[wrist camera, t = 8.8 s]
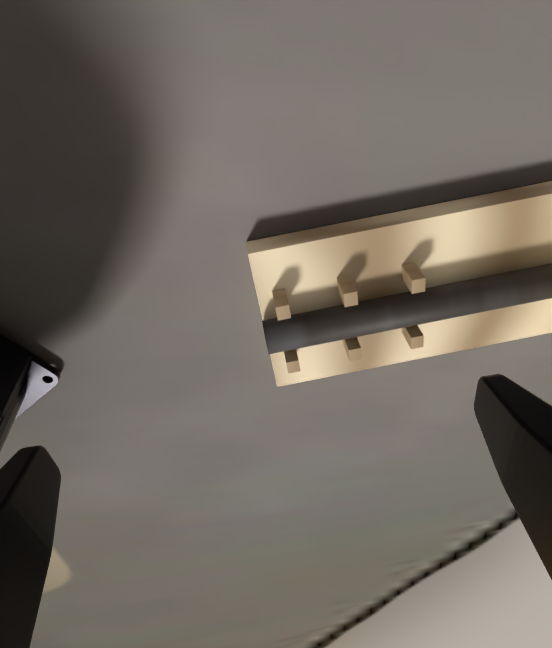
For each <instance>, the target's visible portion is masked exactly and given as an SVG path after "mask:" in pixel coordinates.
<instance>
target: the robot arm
mask: <svg viewBox="0 0 552 648" xmlns="http://www.w3.org/2000/svg"><path fill="white" fill-rule="evenodd" d="M46 376H50V377H52V378H48V377H46ZM59 378H60V373H59V371H58V370H57V369H55V368H54V367H52V366H51V365H49V364H47V363H46V362H44V361H42V360H41V359H39V358H38V357H36V356H34V355H33V354H31V353H30V352H28V351H26V350H25V349H23V348H22V347H20V346H18V345H17V344H15V343H14V342H12V341H10V340H9V339H7V338H5V337H4V336H2V335H1V334H0V451H1V449H2V447H3V444H4V442H5V440H6V438H7V435H8V433H9V431H10V429H11V427H12V424H13V422H14V420H15V419H16V418H17V417H18V416H19V415H20V414H22V413H23V412H24V411H25V410H26V409H28V408H29V407H30V406H31V405H32V404H34V403H35V402H36V401H37V400H38V399H40V398H41V397H42V396H43V395H44V394H46V393H47V392H48V391H49V390H50V389H52V388H53V387H54V386H55V385H56V384H57V383H58V381H59ZM474 411H475V415H476V418H477V420H478V423H479V426H480V428H481V431H482V433H483V436H484V439H485V441H486V444H487V446H488V449H489V452H490V454H491V457H492V459H493V462H494V465H495V467H496V470H497V472H498V475H499V477H500V480H501V482H502V484H503V486H504V488H505V490H506V493H507V495H508V496H509V498H510V500H511V502H512V504H513V506H514V508H515V510H516V512H517V514H518V516H519V518H520V520H521V522H522V523H523V525H524V527H525V529H526V531H527V533H528V535H529V537H530V539H531V541H532V543H533V545H534V546H535V549H536V550H537V552H538V554H539V556H540V558H541V560H542V562H543V564H544V566H545V567H546V570H547V572H548V573H549V576H550V577H551V579H552V406H551V405H550V404H548V403H547V402H545V401H543V400H542V399H540V398H539V397H537V396H535V395H534V394H532V393H531V392H529V391H527V390H526V389H524V388H523V387H521V386H520V385H518V384H516V383H515V382H513V381H512V380H510V379H508V378H507V377H505V376H503V375H501V374H495V375H488V376H483V377H481V378H480V379H479V380H478V384H477V390H476V396H475V401H474ZM60 483H61V474H60V470H59V468H58V466H57V465H56V463H55V462H54V460H53V459H52V457H51V456H50V454H49V453H48V452H47V450H46V449H45V448H44V447H43V446H33V447H26V448H22V449H20V450H19V451H18V452H17V453H16V454H15V455H14V456H13V457H12V458H11V459H10V460H9V461H8V462H7V463H6V464H5V465H4V466H3V467H2V468H1V469H0V648H29V647H30V643H31V639H32V634H33V630H34V626H35V622H36V617H37V613H38V609H39V605H40V600H41V596H42V592H43V587H44V583H45V579H46V575H47V570H48V566H49V562H50V557H51V552H52V546H53V539H54V531H55V523H56V515H57V507H58V499H59V491H60Z"/></svg>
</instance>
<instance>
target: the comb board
mask: <svg viewBox="0 0 552 648" xmlns="http://www.w3.org/2000/svg"><path fill="white" fill-rule="evenodd" d="M246 243H247V251H248V256H249V261H250V265H251V270H252V274H253V279H254V283H255V288H256V293H257V297H258V302H259V306H260V311H261V315H262V320H263V321H262V322H263V328H264V334H265V339H266V344H267V348H268V352H269V354H270V356H271V360H272V365H273V369H274V374H275V378H276V383H277V387H279V386H284V385H289V384H294V383H299V382H304V381H309V380H314V379H319V378H324V377H329V376H334V375H339V374H344V373H349V372H355V371H360V370H365V369H370V368H375V367H380V366H385V365H390V364H395V363H400V362H405V361H410V360H415V359H420V358H425V357H430V356H435V355H440V354H445V353H451V352H456V351H461V350H466V349H471V348H476V347H481V346H486V345H491V344H496V343H501V342H506V341H511V340H516V339H521V338H526V337H531V336H536V335H541V334H546V333H552V181H549V182H544V183H539V184H534V185H529V186H524V187H519V188H514V189H509V190H504V191H499V192H494V193H489V194H484V195H479V196H474V197H469V198H464V199H459V200H454V201H449V202H444V203H439V204H433V205H428V206H423V207H418V208H413V209H408V210H403V211H398V212H393V213H388V214H383V215H378V216H373V217H368V218H363V219H358V220H353V221H348V222H343V223H338V224H333V225H328V226H323V227H318V228H313V229H308V230H303V231H298V232H293V233H288V234H283V235H278V236H273V237H268V238H263V239H258V240H253V241H248V242H246Z"/></svg>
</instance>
